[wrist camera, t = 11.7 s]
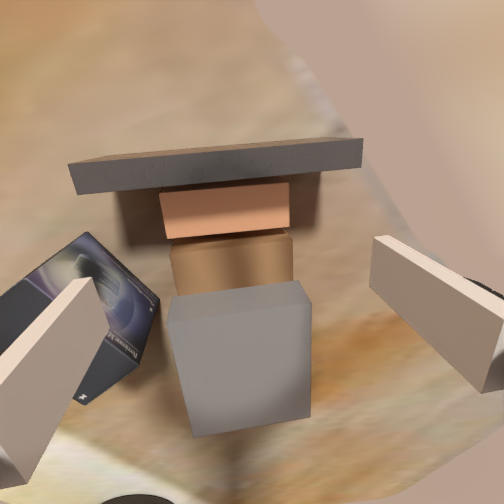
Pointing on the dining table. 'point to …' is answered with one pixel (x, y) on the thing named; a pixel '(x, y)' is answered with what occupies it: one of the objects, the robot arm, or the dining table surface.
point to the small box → (112, 299)
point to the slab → (243, 356)
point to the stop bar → (214, 164)
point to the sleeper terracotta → (225, 206)
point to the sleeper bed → (231, 260)
